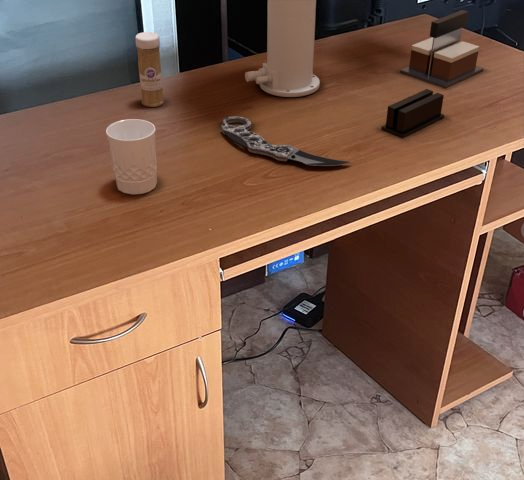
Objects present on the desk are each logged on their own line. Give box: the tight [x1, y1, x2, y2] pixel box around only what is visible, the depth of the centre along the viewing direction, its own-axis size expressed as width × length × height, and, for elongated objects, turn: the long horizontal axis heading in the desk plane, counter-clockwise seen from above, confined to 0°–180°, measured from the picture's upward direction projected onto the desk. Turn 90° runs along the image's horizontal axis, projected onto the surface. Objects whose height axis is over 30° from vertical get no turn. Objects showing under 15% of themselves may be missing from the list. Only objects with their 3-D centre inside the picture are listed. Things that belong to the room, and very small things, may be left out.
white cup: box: [105, 118, 158, 195], centre depth 129 cm, size 8×8×10 cm
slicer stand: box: [380, 88, 445, 139], centre depth 150 cm, size 13×5×5 cm, turn 134°
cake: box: [399, 37, 484, 89], centre depth 170 cm, size 14×12×6 cm
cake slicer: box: [428, 9, 469, 75], centre depth 168 cm, size 11×2×11 cm, turn 134°
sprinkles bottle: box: [135, 31, 165, 108], centre depth 154 cm, size 5×5×14 cm
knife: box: [220, 115, 352, 167], centre depth 143 cm, size 28×2×10 cm
